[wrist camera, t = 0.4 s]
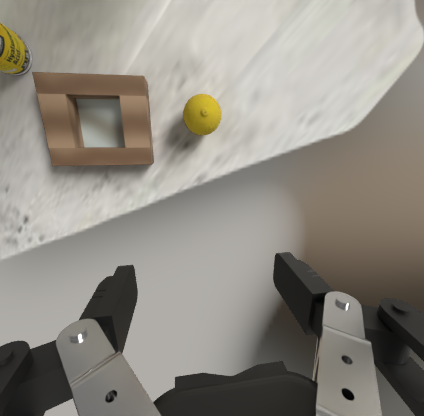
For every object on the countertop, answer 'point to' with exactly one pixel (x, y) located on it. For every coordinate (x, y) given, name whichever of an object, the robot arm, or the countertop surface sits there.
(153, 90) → the countertop surface
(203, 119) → the lemon
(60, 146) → the block
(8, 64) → the supplement bottle
